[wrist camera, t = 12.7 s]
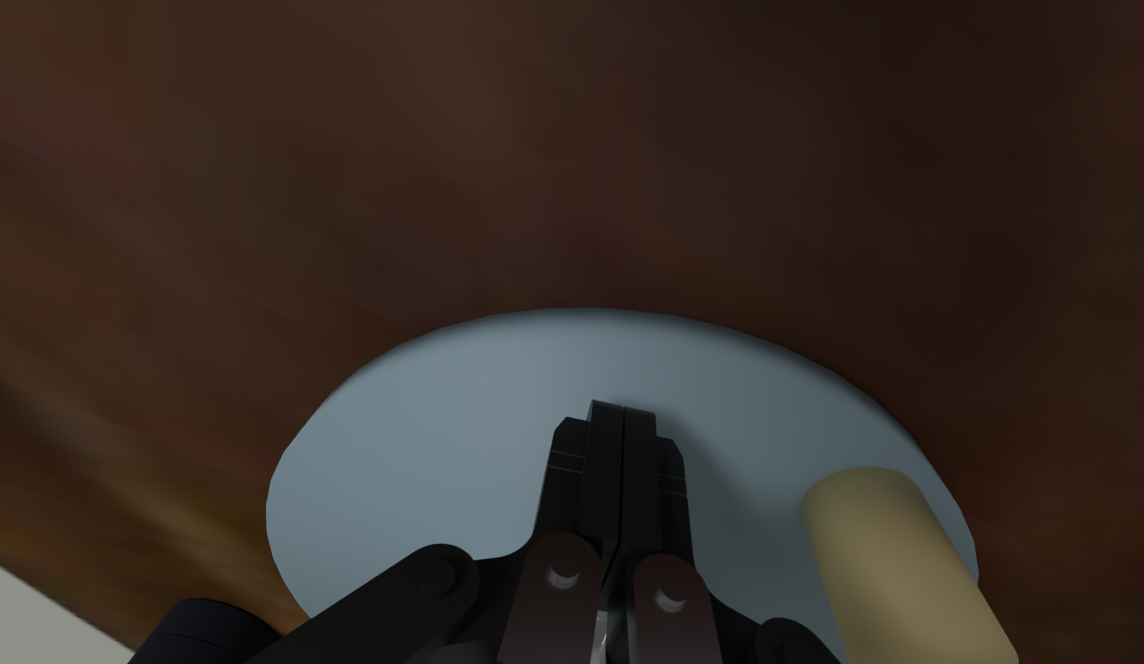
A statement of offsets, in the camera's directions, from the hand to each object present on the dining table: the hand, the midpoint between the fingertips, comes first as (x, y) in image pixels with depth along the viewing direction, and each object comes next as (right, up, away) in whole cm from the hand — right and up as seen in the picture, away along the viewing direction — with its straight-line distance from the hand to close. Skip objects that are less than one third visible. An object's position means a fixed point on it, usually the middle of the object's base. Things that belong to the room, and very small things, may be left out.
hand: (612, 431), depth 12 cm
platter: (0, -7, +7) cm, 10 cm away
